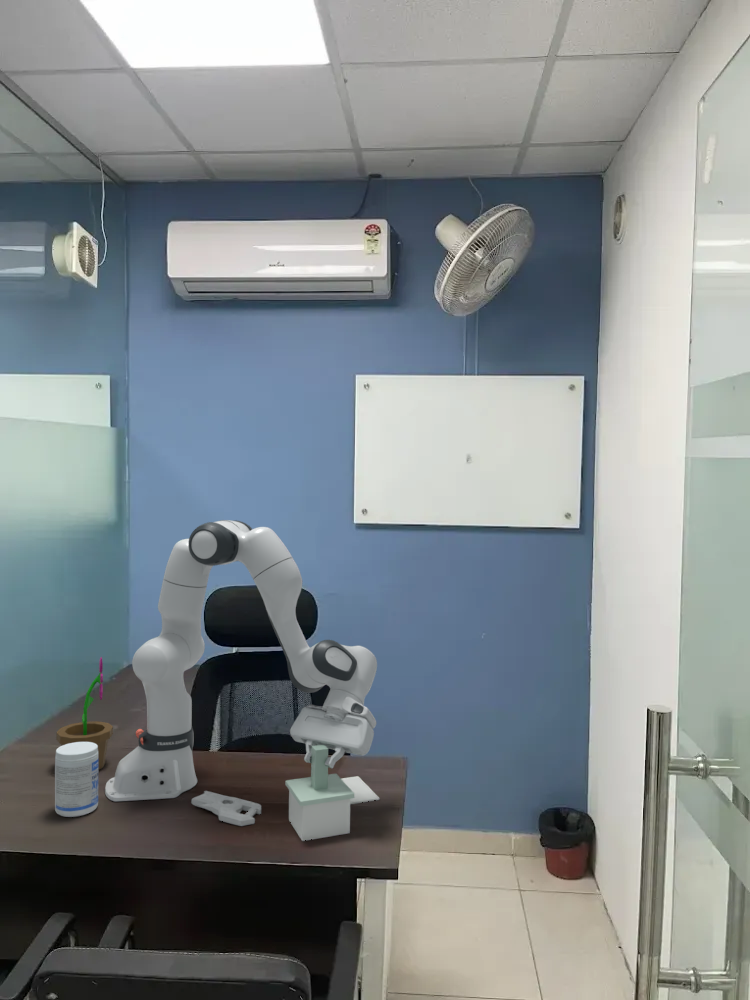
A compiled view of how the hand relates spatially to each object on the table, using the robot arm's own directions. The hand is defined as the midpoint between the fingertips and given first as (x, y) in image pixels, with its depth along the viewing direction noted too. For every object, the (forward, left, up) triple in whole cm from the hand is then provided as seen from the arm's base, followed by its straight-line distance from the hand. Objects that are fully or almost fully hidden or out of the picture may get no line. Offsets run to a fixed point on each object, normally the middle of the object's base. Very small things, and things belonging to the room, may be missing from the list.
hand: (318, 764), depth 166 cm
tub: (0, 0, -14) cm, 14 cm away
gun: (-18, +15, -15) cm, 28 cm away
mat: (+11, +16, -14) cm, 25 cm away
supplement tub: (-51, +28, -15) cm, 60 cm away
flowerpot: (-49, +56, -15) cm, 76 cm away
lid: (0, 0, -7) cm, 7 cm away
